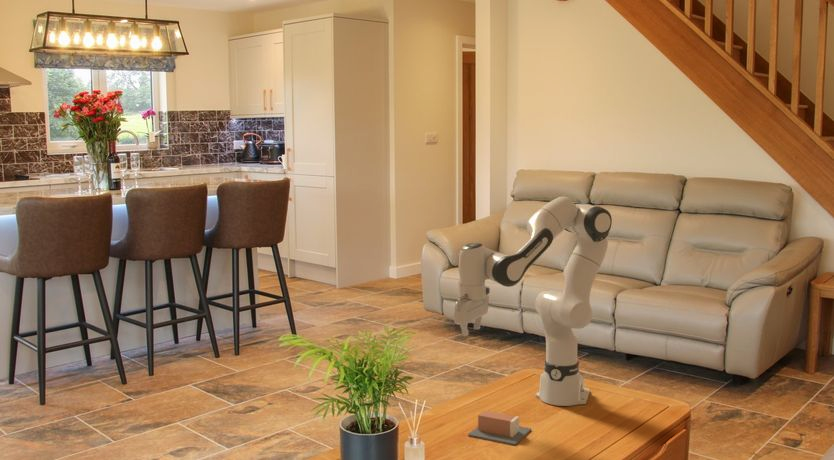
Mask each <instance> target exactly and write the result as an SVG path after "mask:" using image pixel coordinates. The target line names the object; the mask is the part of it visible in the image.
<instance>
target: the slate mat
mask: <svg viewBox="0 0 834 460" xmlns="http://www.w3.org/2000/svg"><path fill="white" fill-rule="evenodd" d="M531 431H532V428H531V427H525V426H520V425H519V432H518V433H517V434H516V435H515V436H514V437H510V436H505V435H500V434H495V433H490V432H485V431H480V430H478V426H477V427H475V428H474V429H473V430H471V431H470V432H469V433H468V434H467V436H468V437H472V438H476V439H482V440H486V441H490V442H497V443H502V444H505V445H506V444H507V445H511V446H517V445H518V443H520V442H521V441H522V440H523V439H524V438H525V437H526V436H527V435H528V434H529V433H530V432H531Z"/></svg>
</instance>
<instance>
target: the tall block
mask: <svg viewBox="0 0 834 460" xmlns="http://www.w3.org/2000/svg"><path fill="white" fill-rule="evenodd" d="M477 417H478V418H477V427H478V430H480V431H485V432H490V433H495V434H500V435H505V436H510V437H514V436H515V435H516V434H517V433H518V432H519V426H520V424H519V423H520V416H515V415H511V414H506V413H502V412H495V411H491V410H490V411H489V410H482V412H480V413H479V414H478V415H477Z"/></svg>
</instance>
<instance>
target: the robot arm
mask: <svg viewBox="0 0 834 460" xmlns="http://www.w3.org/2000/svg"><path fill="white" fill-rule="evenodd" d="M612 220H613V219H612V215H611V212H610V211H608V210H607V209H606V208H604V207H601V206H597V205H593V204H589V203H575V202H574V201H573V200H572V199H571V198H570V197H567V196H564V195H563V196H558V197H556V198H554V199H553V200H551V201H549V202H548V203H546V204H545V205H543V206H542V207H541V208H539V209H538V210H537V211H535V212H534V213H533V214H532V215H531V216H530V217H529V218H528V220H527V222H526V229H527V230H526V231H527V233H528V235H529V237H530V238H529V240H528V241H527V242H526V243H525V244H524V245H523V246H522V247H521V248H519V250H517V252H515V253H512V254H505V253H501V252H498V251H495V250H492V249H490V248H487V247H486V246H485V245H484V244H483V243H480V242H472V243H471V242H470V243H466V244H465V245H463V246H462V247H461V248H460V250H459V256H458V257H459V258H458V274H459V279H458V283H457V285H458V291H457V293H458V300H457V301H456V302H455V305H454V315H453V321H454V325H458V326H459V327H460V329H461V336H463V337H467V336H468V335H469V331H470V330H469V329H468V325H469V324H470V322H472V321H474V324H473V329H474V330H476V331H477V330H480V329H481V323H482V320H483V319H482V318H483V316H484V315H487V314H488V311H489V302H490V301H489V299H490V298H489V297H490V296H489V295H490V293H491V288H490V287H489V286H486V280H490V281H493V282H495V283H497V284H499V285H501V286H503V287H507V288H508V287H513V286H516V285H517V284H518V283H520V281H521V280H522V279H523V277H524V275H525V273H526V272H527V270H528V269H530V267H531V266H532V265H533V264H534V263H535V262H536V261H537V260H538V259H539V257H541V256H542V255H543V254H544V253H545V252H546V250H548V249H549V248H550V246H551V245H552V243H553V241H554V239H556V237H558V236H559V235H560V234H561V233H563V232H564V231H566V232H568V233H573V234H575V235H577V242H576V243H577V244H576V245H575V247H574V248H573V251H572V252H571V255H570V257H569V259H568V261H567V263H566V265H565V267H564V270H563V272H562V277H563V279H564V287H563V291H562V292H561V291H559V290H554V289H553V290H543V291H541V292H540V293H539V294H538V295H537V296H536V299H535V301H534V308H535V311H536V313H537V314H538V315H539V317H540V318H539V319H540V321H541V324H542V327H543V331H544V336H545V360H544V363H543V364H544V365H543V368H544V371H543V372H542V374H540V376H539V377H540V378H539V390H538V391H537V392H535V394H534V395H535V397H537V398H538V399H540V401H542V402H543V403H545V404H548V405H552V406H558V407H559V406H561V407H564V406H565V407H569V406H576V405H586V404H587V402H588V400H589V399H588V398H589V395H590V388H588V387H585V386H584V381H585V379H584V376H583V375H581V373H580V372H579V371H580V369H579V368H580V362H581V361H580V359H578V343H579V342H578V340H577V338H576V336H575V334H574V332H573V329H574V330H575V329H578V330H579V329H584V328H586V327H587V326H588V325H589V324H590V323H591V320H592V317H593V310H592V308H591V304H590V299H591V298H590V296H591V290H592V287H593V284H594V281H595V279H596V277H597V275H598V273H599V270H600V269H601V266H602V264H603V262H604V259H605V256H606V253H607V250H608V245H609V241H608V238H607V237H608V236H609V234H610V233H609V232H610V231H611V228H612V224H613V223H612Z"/></svg>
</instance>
